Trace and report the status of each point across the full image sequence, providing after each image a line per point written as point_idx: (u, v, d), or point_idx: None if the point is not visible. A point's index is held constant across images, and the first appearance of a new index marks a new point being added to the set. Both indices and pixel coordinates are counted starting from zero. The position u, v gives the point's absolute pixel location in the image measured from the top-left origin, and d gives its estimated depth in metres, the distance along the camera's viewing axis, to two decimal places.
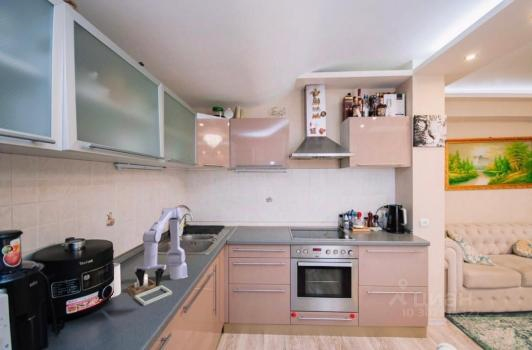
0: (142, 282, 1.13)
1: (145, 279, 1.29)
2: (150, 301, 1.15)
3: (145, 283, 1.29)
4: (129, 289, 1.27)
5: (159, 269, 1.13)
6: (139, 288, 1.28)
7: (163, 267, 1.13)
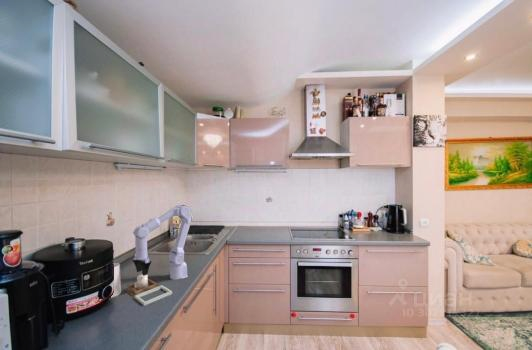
0: (139, 268, 1.33)
1: (145, 279, 1.29)
2: (150, 301, 1.15)
3: (145, 283, 1.29)
4: (129, 289, 1.27)
5: (143, 262, 1.26)
6: (139, 288, 1.28)
7: (145, 261, 1.25)
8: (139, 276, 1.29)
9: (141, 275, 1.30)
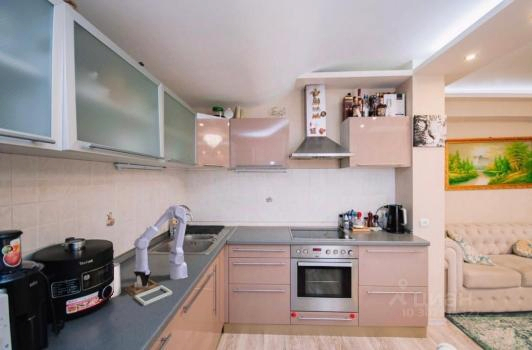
0: None
1: None
2: (150, 301, 1.15)
3: None
4: (129, 289, 1.27)
5: (144, 273, 1.26)
6: (139, 288, 1.28)
7: (145, 272, 1.25)
8: (139, 276, 1.29)
9: None
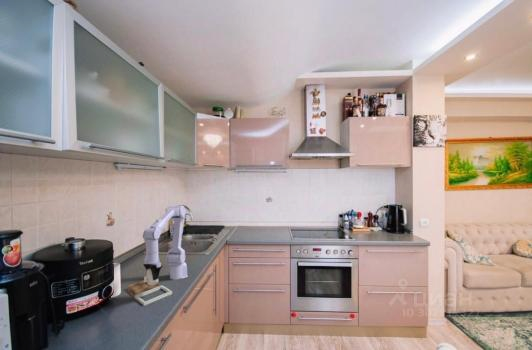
0: None
1: None
2: (150, 301, 1.15)
3: None
4: (129, 289, 1.27)
5: (155, 266, 1.18)
6: (149, 282, 1.19)
7: (156, 265, 1.16)
8: (149, 270, 1.20)
9: None
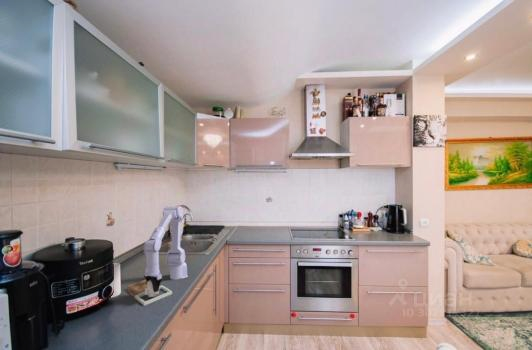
0: None
1: None
2: (150, 301, 1.15)
3: None
4: (129, 289, 1.27)
5: (155, 278, 1.18)
6: (150, 294, 1.19)
7: (157, 277, 1.16)
8: (150, 281, 1.20)
9: None
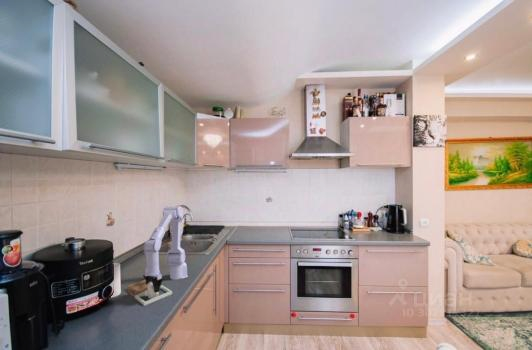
0: None
1: None
2: (150, 301, 1.15)
3: None
4: (129, 289, 1.27)
5: (155, 278, 1.18)
6: (150, 296, 1.19)
7: (157, 277, 1.16)
8: (150, 283, 1.20)
9: None
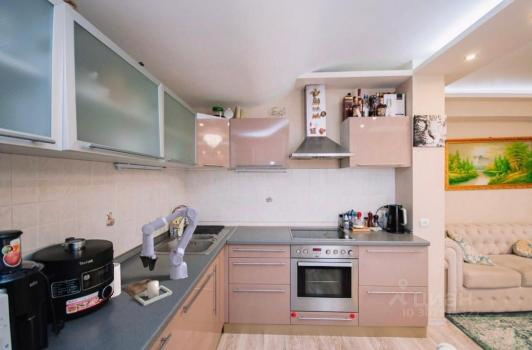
0: (146, 264, 1.39)
1: (156, 286, 1.20)
2: (150, 301, 1.15)
3: (156, 291, 1.20)
4: (129, 289, 1.27)
5: (150, 258, 1.32)
6: (150, 296, 1.19)
7: (152, 257, 1.31)
8: (149, 283, 1.20)
9: (151, 282, 1.22)
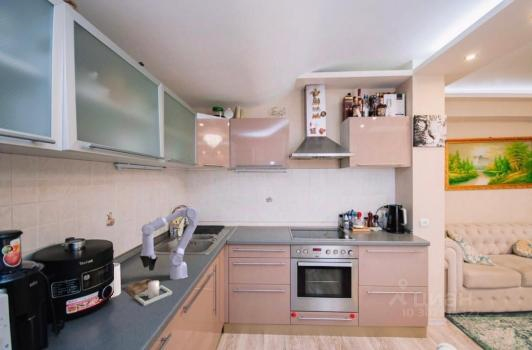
0: (146, 264, 1.39)
1: (156, 287, 1.20)
2: (150, 301, 1.15)
3: (156, 291, 1.20)
4: (129, 289, 1.27)
5: (150, 257, 1.32)
6: (150, 296, 1.19)
7: (151, 257, 1.31)
8: (150, 283, 1.20)
9: (152, 282, 1.22)
